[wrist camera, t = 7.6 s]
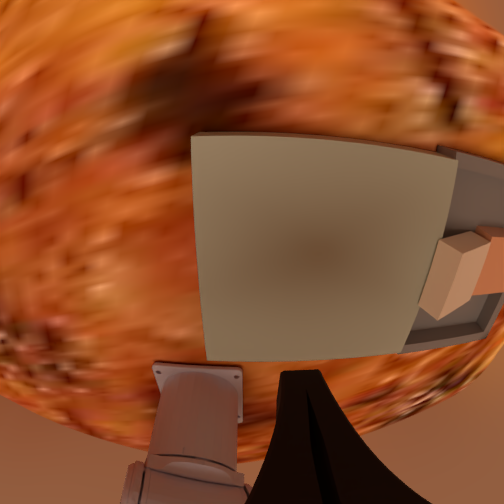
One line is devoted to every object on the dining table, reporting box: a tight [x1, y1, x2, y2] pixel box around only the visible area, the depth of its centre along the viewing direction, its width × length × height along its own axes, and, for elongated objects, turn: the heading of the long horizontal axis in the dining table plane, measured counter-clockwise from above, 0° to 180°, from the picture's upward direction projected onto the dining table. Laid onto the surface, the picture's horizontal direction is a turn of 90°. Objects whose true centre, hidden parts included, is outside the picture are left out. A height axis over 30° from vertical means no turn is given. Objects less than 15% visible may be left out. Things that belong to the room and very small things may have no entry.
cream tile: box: [418, 231, 491, 321], centre depth 17 cm, size 5×5×2 cm
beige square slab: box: [191, 132, 458, 362], centre depth 18 cm, size 15×15×2 cm
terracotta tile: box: [472, 226, 504, 296], centre depth 18 cm, size 5×5×2 cm
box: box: [397, 145, 504, 354], centre depth 18 cm, size 16×11×2 cm
